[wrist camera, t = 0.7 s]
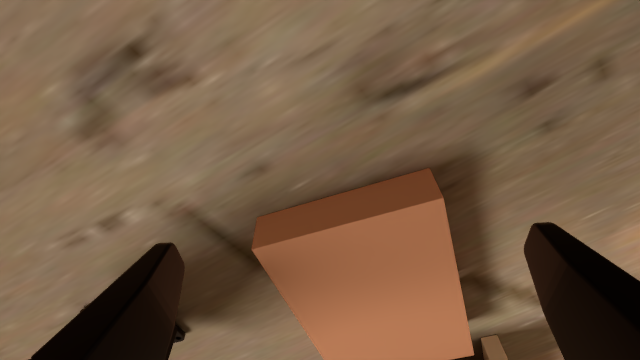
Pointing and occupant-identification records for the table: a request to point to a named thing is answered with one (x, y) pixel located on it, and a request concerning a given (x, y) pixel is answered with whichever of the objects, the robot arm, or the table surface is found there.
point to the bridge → (493, 348)
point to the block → (370, 271)
